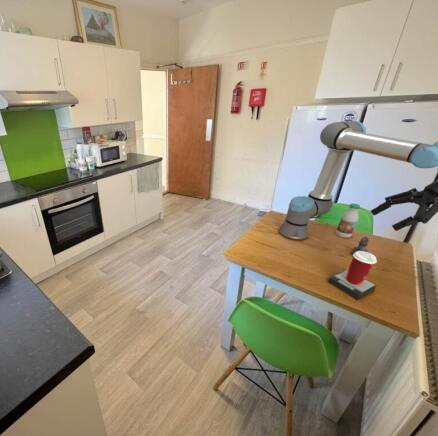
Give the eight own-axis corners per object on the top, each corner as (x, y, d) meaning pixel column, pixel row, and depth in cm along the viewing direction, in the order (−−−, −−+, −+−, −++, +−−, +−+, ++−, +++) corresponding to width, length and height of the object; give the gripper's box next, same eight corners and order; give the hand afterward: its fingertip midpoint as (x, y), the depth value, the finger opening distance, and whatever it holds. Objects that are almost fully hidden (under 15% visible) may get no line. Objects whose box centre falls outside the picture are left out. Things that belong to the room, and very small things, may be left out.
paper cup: (368, 288, 102) (382, 262, 95) (348, 285, 103) (360, 260, 97) (358, 275, 108) (370, 250, 102) (339, 274, 110) (350, 249, 103)
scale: (344, 274, 114) (346, 269, 113) (373, 290, 104) (376, 285, 103) (328, 281, 110) (330, 276, 109) (357, 299, 100) (360, 294, 99)
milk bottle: (335, 230, 150) (346, 201, 140) (350, 233, 146) (363, 203, 136) (335, 235, 144) (347, 205, 135) (351, 239, 140) (364, 208, 131)
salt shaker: (363, 253, 128) (372, 234, 122) (366, 259, 123) (376, 240, 118) (349, 251, 130) (357, 232, 125) (352, 257, 125) (361, 237, 120)
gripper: (483, 208, 80) (409, 242, 90) (423, 183, 102) (368, 213, 111) (473, 193, 78) (399, 229, 88) (414, 171, 100) (360, 202, 110)
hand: (382, 220), depth 100 cm, fingers open, 13 cm apart
